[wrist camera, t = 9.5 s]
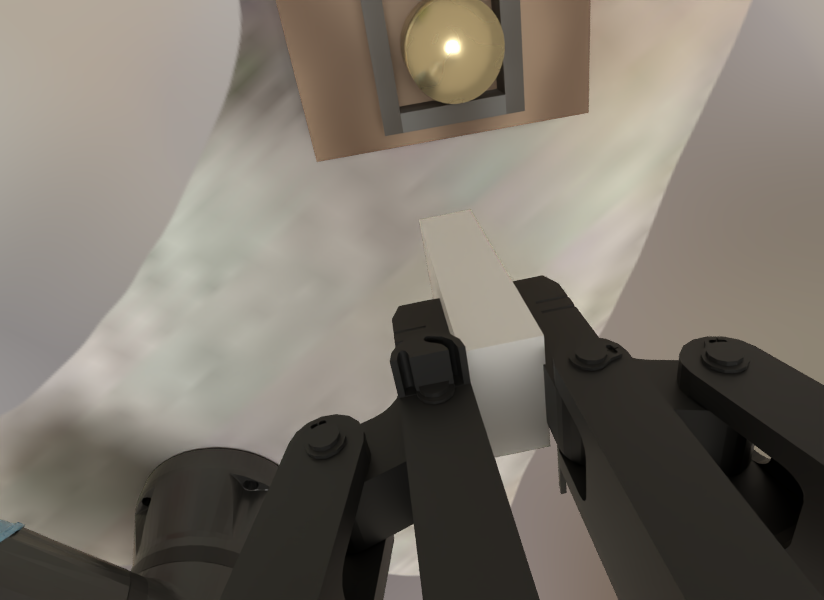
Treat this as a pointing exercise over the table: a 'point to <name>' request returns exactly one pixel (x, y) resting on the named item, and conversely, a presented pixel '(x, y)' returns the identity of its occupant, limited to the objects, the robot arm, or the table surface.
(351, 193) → the table surface
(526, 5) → the mount
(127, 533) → the table surface
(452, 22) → the knob
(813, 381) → the robot arm
